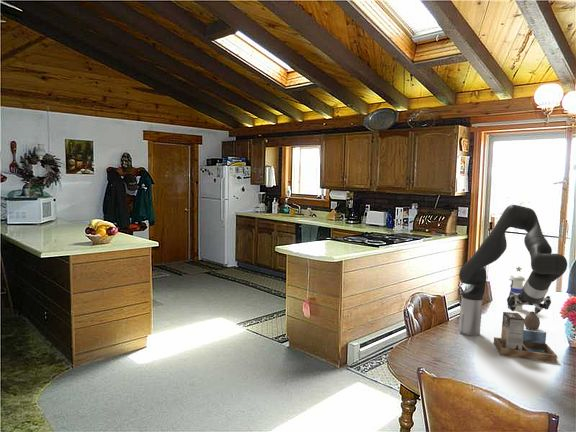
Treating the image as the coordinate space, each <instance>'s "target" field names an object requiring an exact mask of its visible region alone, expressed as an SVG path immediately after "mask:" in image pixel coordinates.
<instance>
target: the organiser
mask: <svg viewBox="0 0 576 432" xmlns="http://www.w3.org/2000/svg"><path fill="white" fill-rule="evenodd" d="M546 341H547V332H546V331H545V332H544V331H540V330H539V331H538V330H530V329H524V332H523V343H522V350H515V349H507V348H503V347H502V345H501V337H497V336H494V337H493V346H494V347H495V348H496V350H497V352H498V353H499V355H500V356H501V357H502V356H503V357H508V358H509V357H510V358H518V359H526V360H532V361H541V362H547V363H555V364H557V362H558V361H557V360H558V354H557V353H556V352H554V350H553V349H552V348H551V347H550V346H549V345H548V344H547V343H546Z"/></svg>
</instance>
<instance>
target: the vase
mask: <svg viewBox="0 0 576 432" xmlns="http://www.w3.org/2000/svg"><path fill="white" fill-rule="evenodd" d="M524 319H525V322H524V327H525V328H526V330H530V331H537V330H539V327H540V325H541V320H540V318H539V316H538V314H535V311H531V310H530V311H529V312H528V314H527V315H525V316H524Z"/></svg>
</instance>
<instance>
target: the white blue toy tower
mask: <svg viewBox="0 0 576 432" xmlns="http://www.w3.org/2000/svg"><path fill="white" fill-rule="evenodd" d="M515 269H516V272H521V270H522V267H520V266H518V267H515ZM508 280H509V281H511V284H510V285H509V287H510V290H509V295H510V293H514V295H519V294H520V293H521V291H522V289H523V287H524V282H526V279H525V277H524V276H522V275H518V276H517V277H515V276H513V275H509V279H508ZM509 295H508V296H509ZM520 303H521V301H520ZM515 304H516V302H515ZM507 309H509V310H510V306H508V305H507ZM514 311H519V312H520V311H521V312H522V311H523V305H522V306H516V308H515V310H514Z"/></svg>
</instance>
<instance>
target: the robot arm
mask: <svg viewBox="0 0 576 432" xmlns="http://www.w3.org/2000/svg"><path fill="white" fill-rule="evenodd" d="M509 228H513V229H518V230H524V231H525V232H526V235H525V236H524V240H523V241H524V246H525V248H526V250H527V251H528V254H529V255H530V256H529V257H530V268H531V270H532V271H531V272H530V274H529V276H528V278H527V279H526V280H525V281H524V282H525V283H524V284H523V289H522V291H521V293H520V294H519V295H514V293H510V292H509V293H510V295H508V297H507V298H506V302H507V307H508V306H510V309H509V310H510V311H511V312H515V311H516V310H515V308H516V306H522V307H523V306H534V312H535V314H536V315H538V313H541V311H542V310H543V309H544V310H549V309H550V306H551V304H552V299H551V296H550V295H547V293H548V291H549V289H550V287H551V285H552V283H554V281H556V280H557V279H559V278H560V277H562V276H563V275H564V273H565V272H566V271H567V268H568V260H567V258H566V257H565V256H564V255H563V254H560V253H553V249H552V247H551V244H549V242H548V240H547V238H545V235H544V234H543V231H542V229H541V225H540V222H539V219H538V216H537V214H536V212H535V211H534V209H532V208H530V207H526V206H522V205H518V204H509V205H508V206H507V207H505V209H504V210H503V212H502V214H501V216H500V217H499V219H498V220H497V222H496V224H495V225H494V226H493V229H492V230H491V231H490V233H489V234H488V236H487V237H486V238H485V239H484V240H483V241H482V243H481V245H480V246H479V247H478V248H477V250H476V251H475V253H474V254H473V255H472V256H471V257H470V258H469V259H468V260H467V261H466V262H465V263H464V264H463V265H462V267H460V270H459V273H458V276H459V281H460V282H461V283H462V284H465V285H470V286H469V287H468V288H466V289H464V290H462V293H461V303H460V310H459V319H458V320H459V322H458V331H459V333H460V334H463V335H466V336H471V337H474V336H475V337H476V336H479V335H481V326H482V325H481V323H482V312H483V310H482V309H483V300H484V295H485V290H486V284H487V271H486V269H485V267H486V266H488V265H490V264H492V263H494V262H496V261H497V260H499V259H500V258H501V256H502V255H503V254H504V253H505V252H506V250H507V247H508V246H507V245H508V243H507V237H506V232H507V230H508V229H509ZM520 301H521V303H520ZM515 302H516V304H515ZM542 302H543V303H542Z"/></svg>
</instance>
